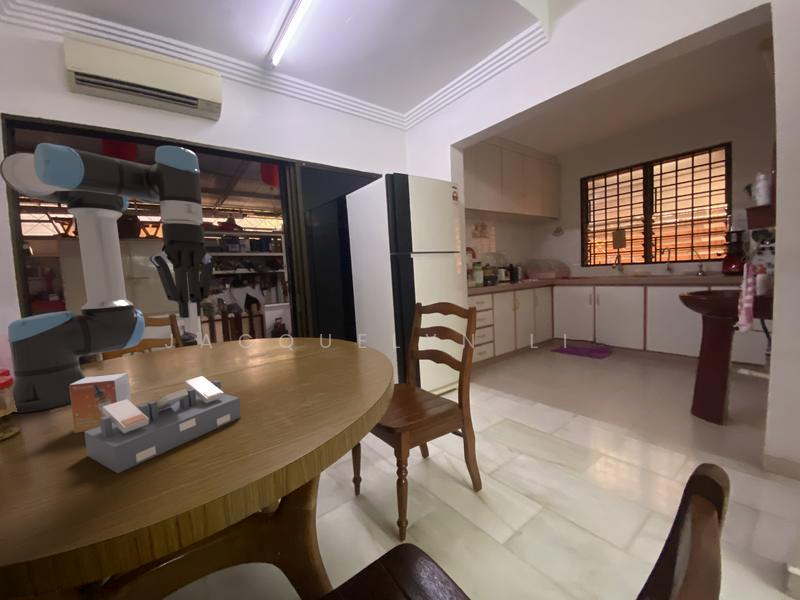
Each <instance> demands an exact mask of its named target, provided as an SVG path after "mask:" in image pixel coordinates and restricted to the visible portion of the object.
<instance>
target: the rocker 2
mask: <svg viewBox="0 0 800 600" xmlns="http://www.w3.org/2000/svg"><path fill="white" fill-rule="evenodd" d="M187 390H188V388H182V389H179V390H175V391H173V392H169V393H167V394H166V393H165V395H163V397H161V398H160V399H159V400H158V401H156V402H157V405H158V411H159V410H162V409H165V408H168V407H170V406H172V405H174V404H175V403H176V402H178V401H179V400H181V399H182V398H183V397H185V396H186V395H188V392H187Z"/></svg>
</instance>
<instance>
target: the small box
mask: <svg viewBox="0 0 800 600" xmlns="http://www.w3.org/2000/svg"><path fill="white" fill-rule="evenodd" d="M85 377H86V378H83V379H81V380H79V381H77V382H75V383H72V384H70V385H69V387H70V396H71V403H70V404H71V405H70V406H71V413H72V424H73V431H74V434H78V433H84V432H85V431H88V430H91V429H94V428H97V427H100V426H101V425H100V418H101V417H104V416H106V415H105V414H104V413H103V406H106V405H109V404H113V403H116V402H119V401H123V400H126V399H128V400H129V401H130V402H131V403H132V397H131V387H130V378H129V377H130V376H129V373H128V372H124V373H118V374H109V375H99V376H97V375H96V376H85Z"/></svg>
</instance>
